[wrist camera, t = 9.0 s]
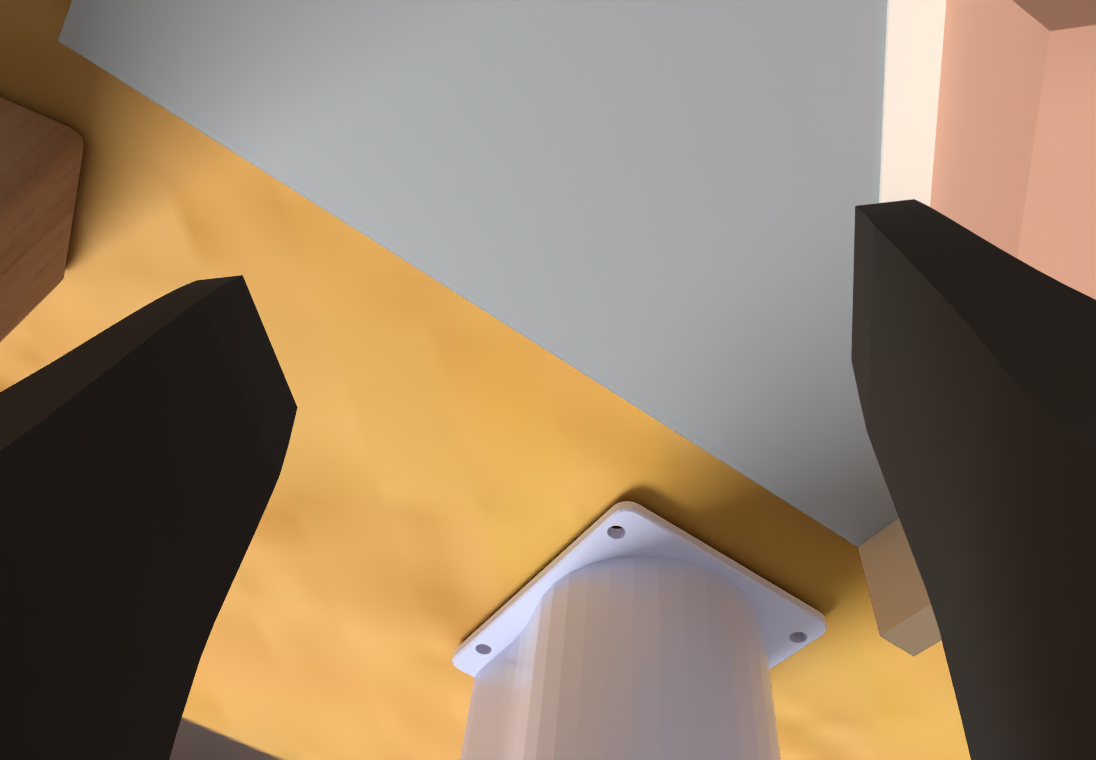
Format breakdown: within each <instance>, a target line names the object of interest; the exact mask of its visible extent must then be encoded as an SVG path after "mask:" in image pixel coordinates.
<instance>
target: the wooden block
mask: <svg viewBox="0 0 1096 760" xmlns="http://www.w3.org/2000/svg"><path fill="white" fill-rule="evenodd" d="M83 149H84V142H83V138H82V135H81V134H80V133H78V132H77V131H76V130H75V129H73V128H72V127H69V126H67V125H65V124H62V123H60V122H58V121H55V120H53V119H51V118H49V117H46V116H44V115H42V114H39V113H37V112H35V111H32V110H30V109H28V108H26V107H23V106H21V105H19V104H16V103H14V102H12V101H10V100H7V99H5V98H3V97H0V342H1V341H2V340H3V339H4V338H5V337H6V336H7V335H8V334H9V333H10V332H11V331H12V330H13V329H14V328H15V327H16V326H17V325H18V324H19V323H20V322H21V321H22V320H23V319H24V318H25V317H26V316H27V315H28V314H29V313H30V312H31V311H32V310H33V309H34V308H35V307H36V306H37V305H38V304H39V303H40V302H41V301H42V300H43V299H44V298H45V297H46V296H47V295H48V294H49V293H50V292H51V291H52V290H53V289H54V288H55V287H56V286H57V285H58V284H59V283H60V282H61V281H62V279H63V278H64V272H65V266H66V259H67V253H68V246H69V240H70V233H71V227H72V220H73V214H74V208H75V201H76V195H77V188H78V182H79V175H80V169H81V162H82V156H83Z"/></svg>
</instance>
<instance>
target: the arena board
mask: <svg viewBox="0 0 1096 760" xmlns="http://www.w3.org/2000/svg"><path fill="white" fill-rule="evenodd" d="M887 1H888V0H72V2H71V5H70V8H69V10H68V13H67V16H66V19H65V21H64V24H63V27H62V30H61V33H60V35H59V38H58V41H59V42H60V43H62V44H64V45H65V46H67V47H68V48H70V49H72V50H73V51H75V52H76V53H78V54H79V55H81V56H83V57H84V58H86V59H87V60H89V61H90V62H92V63H94V64H95V65H97V66H98V67H100V68H102V69H103V70H105V71H106V72H108V73H109V74H111V75H113V76H114V77H116V78H117V79H119V80H120V81H122V82H124V83H125V84H127V85H128V86H130V87H132V88H133V89H135V90H136V91H138V92H139V93H141V94H143V95H144V96H146V97H147V98H149V99H151V100H152V101H154V102H155V103H157V104H158V105H160V106H162V107H163V108H165V109H166V110H168V111H169V112H171V113H173V114H174V115H176V116H177V117H179V118H181V119H182V120H184V121H185V122H187V123H188V124H190V125H192V126H193V127H195V128H196V129H198V130H199V131H201V132H203V133H204V134H206V135H207V136H209V137H211V138H212V139H214V140H215V141H217V142H218V143H220V144H222V145H223V146H225V147H226V148H228V149H229V150H231V151H233V152H234V153H236V154H237V155H239V156H241V157H242V158H244V159H245V160H247V161H248V162H250V163H252V164H253V165H255V166H256V167H258V168H259V169H261V170H263V171H264V172H266V173H267V174H269V175H271V176H272V177H274V178H275V179H277V180H278V181H280V182H282V183H283V184H285V185H286V186H288V187H290V188H291V189H293V190H294V191H296V192H297V193H299V194H301V195H302V196H304V197H305V198H307V199H308V200H310V201H312V202H313V203H315V204H316V205H318V206H320V207H321V208H323V209H324V210H326V211H327V212H329V213H331V214H332V215H334V216H335V217H337V218H338V219H340V220H342V221H343V222H345V223H346V224H348V225H350V226H351V227H353V228H354V229H356V230H357V231H359V232H361V233H362V234H364V235H365V236H367V237H368V238H370V239H372V240H373V241H375V242H376V243H378V244H380V245H381V246H383V247H384V248H386V249H387V250H389V251H391V252H392V253H394V254H395V255H397V256H398V257H400V258H402V259H403V260H405V261H406V262H408V263H410V264H411V265H413V266H414V267H416V268H417V269H419V270H421V271H422V272H424V273H425V274H427V275H429V276H430V277H432V278H433V279H435V280H436V281H438V282H440V283H441V284H443V285H444V286H446V287H447V288H449V289H451V290H452V291H454V292H455V293H457V294H459V295H460V296H462V297H463V298H465V299H466V300H468V301H470V302H471V303H473V304H474V305H476V306H477V307H479V308H481V309H482V310H484V311H485V312H487V313H489V314H490V315H492V316H493V317H495V318H496V319H498V320H500V321H501V322H503V323H504V324H506V325H507V326H509V327H511V328H512V329H514V330H515V331H517V332H519V333H520V334H522V335H523V336H525V337H526V338H528V339H530V340H531V341H533V342H534V343H536V344H537V345H539V346H541V347H542V348H544V349H545V350H547V351H549V352H550V353H552V354H553V355H555V356H556V357H558V358H560V359H561V360H563V361H564V362H566V363H568V364H569V365H571V366H572V367H574V368H575V369H577V370H579V371H580V372H582V373H583V374H585V375H586V376H588V377H590V378H591V379H593V380H594V381H596V382H598V383H599V384H601V385H602V386H604V387H605V388H607V389H609V390H610V391H612V392H613V393H615V394H616V395H618V396H620V397H621V398H623V399H624V400H626V401H628V402H629V403H631V404H632V405H634V406H635V407H637V408H639V409H640V410H642V411H643V412H645V413H646V414H648V415H650V416H651V417H653V418H654V419H656V420H658V421H659V422H661V423H662V424H664V425H665V426H667V427H669V428H670V429H672V430H673V431H675V432H676V433H678V434H680V435H681V436H683V437H684V438H686V439H688V440H689V441H691V442H692V443H694V444H695V445H697V446H699V447H700V448H702V449H703V450H705V451H707V452H708V453H710V454H711V455H713V456H714V457H716V458H718V459H719V460H721V461H722V462H724V463H725V464H727V465H729V466H730V467H732V468H733V469H735V470H737V471H738V472H740V473H741V474H743V475H744V476H746V477H748V478H749V479H751V480H752V481H754V482H755V483H757V484H759V485H760V486H762V487H763V488H765V489H767V490H768V491H770V492H771V493H773V494H774V495H776V496H778V497H779V498H781V499H782V500H784V501H785V502H787V503H789V504H790V505H792V506H793V507H795V508H797V509H798V510H800V511H801V512H803V513H804V514H806V515H808V516H809V517H811V518H812V519H814V520H816V521H817V522H819V523H820V524H822V525H823V526H825V527H827V528H828V529H830V530H831V531H833V532H834V533H836V534H838V535H839V536H841V537H842V538H844V539H846V540H847V541H849V542H850V543H852V544H853V545H855V546H857V547H858V550H859V554H860V558H861V562H862V566H863V570H864V574H865V578H866V582H867V586H868V590H869V594H870V598H871V602H872V606H873V610H874V614H875V618H876V622H877V626H878V630H879V634H880V636H881V637H882V638H884V639H886V640H887V641H889V642H891V643H892V644H894V645H896V646H897V647H899V648H901V649H902V650H904V651H906V652H907V653H909V654H911V655H912V656H915V655H917V654H919V653H920V652H922V651H924V650H925V649H927V648H929V647H930V646H932V645H934V644H936V643H937V642H939V641H941V640H942V639H941V635H940V632H939V628H938V625H937V622H936V619H935V615H934V612H933V609H932V606H931V603H930V600H929V597H928V594H927V591H926V588H925V585H924V583H923V580H922V578H921V575H920V572H919V570H918V567H917V564H916V562H915V559H914V556H913V554H912V551H911V548H910V546H909V543H908V540H907V538H906V535H905V533H904V530H903V527H902V525H901V522H900V519H899V517H898V514H897V511H896V509H895V506H894V503H893V501H892V498H891V496H890V493H889V490H888V488H887V485H886V482H885V480H884V477H883V474H882V471H881V469H880V466H879V463H878V461H877V458H876V455H875V453H874V450H873V447H872V444H871V442H870V439H869V436H868V433H867V430H866V426H865V421H864V417H863V412H862V408H861V404H860V399H859V394H858V390H857V385H856V380H855V375H854V371H853V366H852V361H851V350H852V311H853V272H854V232H855V206H858V205H867V204H876V203H879V192H880V169H881V145H882V121H883V97H884V73H885V49H886V25H887Z"/></svg>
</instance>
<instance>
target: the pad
mask: <svg viewBox="0 0 1096 760" xmlns="http://www.w3.org/2000/svg"><path fill="white" fill-rule="evenodd" d="M945 11H946V0H888V1H887V25H886V49H885V73H884V97H883V121H882V145H881V169H880V192H879V203H885V202H893V201H902V200H911V199H915V200H917V201H919V202H921V203H924V204H925V205H927V206H929V207H930V201H931V188H932V175H933V163H934V150H935V137H936V125H937V112H938V100H939V87H940V74H941V62H942V49H943V36H944V24H945Z"/></svg>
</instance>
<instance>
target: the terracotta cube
mask: <svg viewBox="0 0 1096 760" xmlns="http://www.w3.org/2000/svg"><path fill="white" fill-rule="evenodd" d="M930 207H931V208H933V209H935V210H936V211H938V212H940V213H941V214H943V215H945V216H946V217H948V218H950V219H952V220H953V221H955V222H956V223H958V224H960V225H961V226H963V227H965V228H966V229H968V230H970V231H971V232H973V233H975V234H976V235H978V236H980V237H981V238H983V239H985V240H986V241H988V242H990V243H991V244H993V245H995V246H997V247H998V248H1000V249H1002V250H1003V251H1005V252H1007V253H1008V254H1010V255H1012V256H1014V257H1015V258H1017V259H1019V260H1021V261H1022V262H1024V263H1026V264H1028V265H1030V266H1031V267H1033V268H1035V269H1037V270H1039V271H1040V272H1042V273H1044V274H1046V275H1048V276H1050V277H1052V278H1054V279H1055V280H1057V281H1059V282H1061V283H1063V284H1065V285H1067V286H1069V287H1071V288H1073V289H1075V290H1077V291H1079V292H1081V293H1083V294H1085V295H1087V296H1089V297H1091V298H1093V299H1095V300H1096V0H946V11H945V24H944V36H943V49H942V62H941V74H940V87H939V100H938V112H937V125H936V137H935V150H934V163H933V175H932V188H931V201H930Z"/></svg>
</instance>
